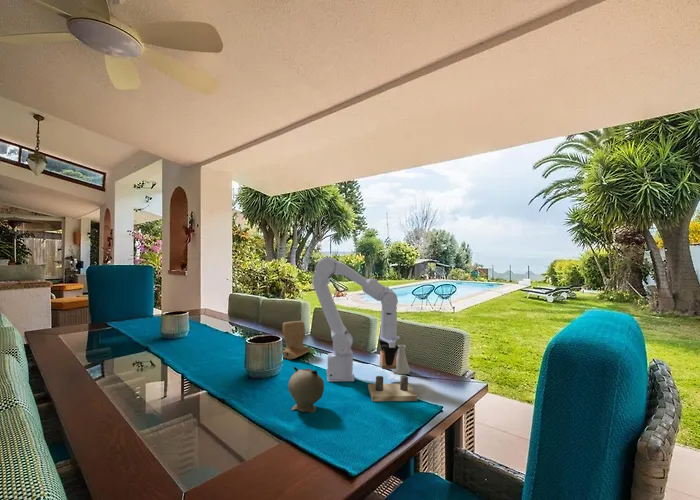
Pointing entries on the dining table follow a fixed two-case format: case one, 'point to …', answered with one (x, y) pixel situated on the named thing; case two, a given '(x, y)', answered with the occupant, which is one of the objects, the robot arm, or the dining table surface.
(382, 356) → the sleeve
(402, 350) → the flask
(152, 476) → the dining table surface
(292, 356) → the tan wooden stand
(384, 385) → the pin board
